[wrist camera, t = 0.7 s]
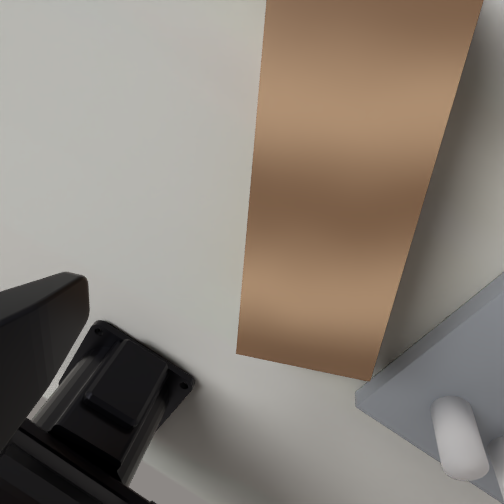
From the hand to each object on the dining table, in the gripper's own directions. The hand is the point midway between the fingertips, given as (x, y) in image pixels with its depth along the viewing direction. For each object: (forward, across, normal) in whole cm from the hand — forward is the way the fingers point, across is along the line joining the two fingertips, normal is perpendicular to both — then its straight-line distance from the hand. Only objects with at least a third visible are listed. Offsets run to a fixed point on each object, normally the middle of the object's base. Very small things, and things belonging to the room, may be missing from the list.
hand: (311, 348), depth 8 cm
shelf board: (+11, 0, 0) cm, 11 cm away
